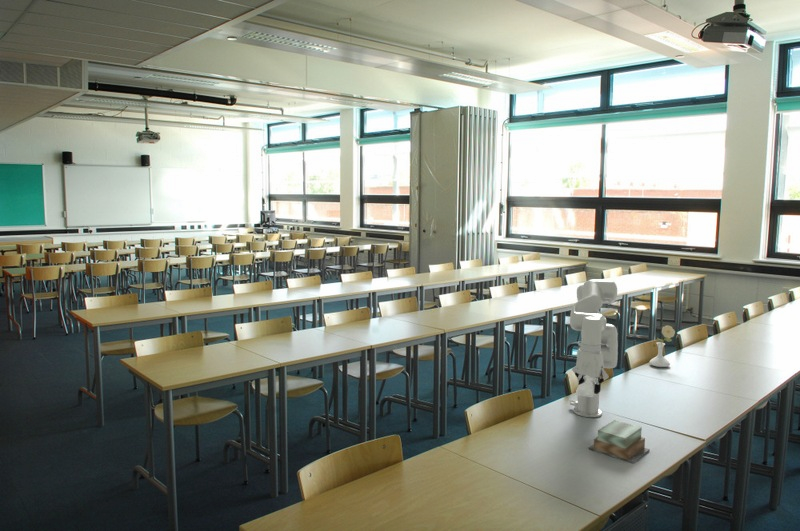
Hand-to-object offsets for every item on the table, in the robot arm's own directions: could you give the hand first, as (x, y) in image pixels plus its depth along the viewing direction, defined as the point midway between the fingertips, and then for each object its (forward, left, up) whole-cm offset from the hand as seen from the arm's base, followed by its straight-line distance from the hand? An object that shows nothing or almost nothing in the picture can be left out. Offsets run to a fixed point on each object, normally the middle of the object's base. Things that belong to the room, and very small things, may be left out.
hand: (589, 390), depth 236 cm
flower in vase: (-20, +134, -22) cm, 137 cm away
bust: (0, 0, -2) cm, 2 cm away
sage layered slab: (+13, +1, -21) cm, 25 cm away
